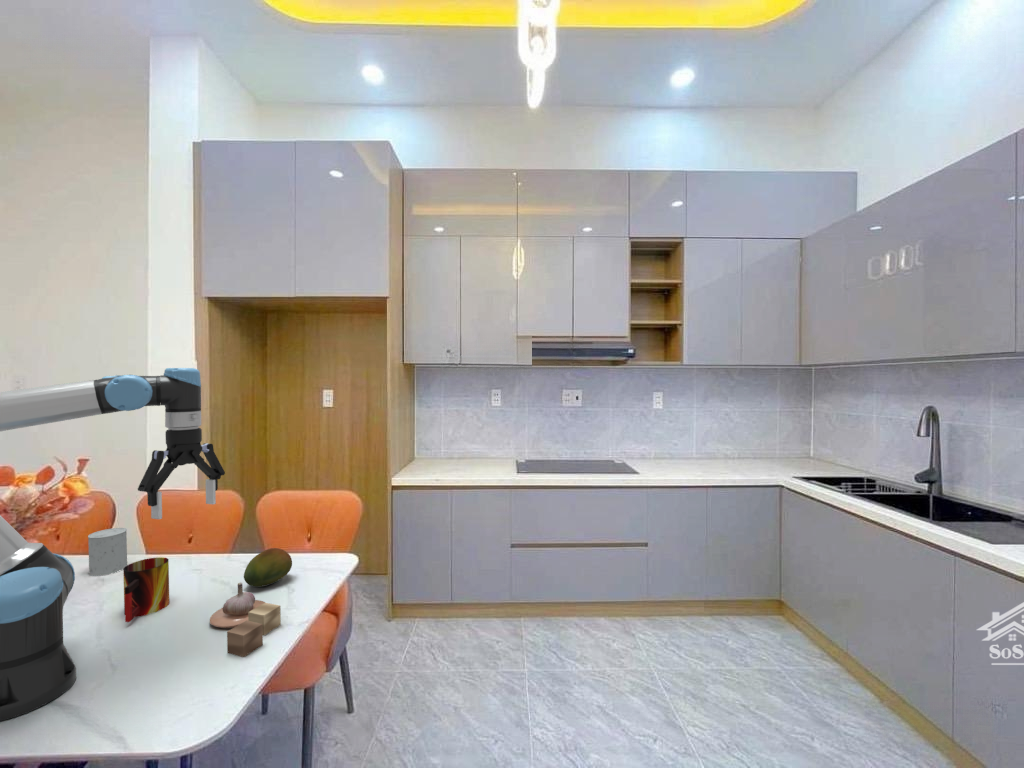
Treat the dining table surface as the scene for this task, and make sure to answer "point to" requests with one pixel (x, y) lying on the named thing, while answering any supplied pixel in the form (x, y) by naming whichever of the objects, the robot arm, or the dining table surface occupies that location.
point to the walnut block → (244, 638)
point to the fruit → (267, 567)
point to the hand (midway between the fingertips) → (185, 510)
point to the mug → (146, 587)
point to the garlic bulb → (239, 603)
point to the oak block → (266, 616)
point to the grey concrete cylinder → (107, 551)
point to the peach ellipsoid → (230, 617)
